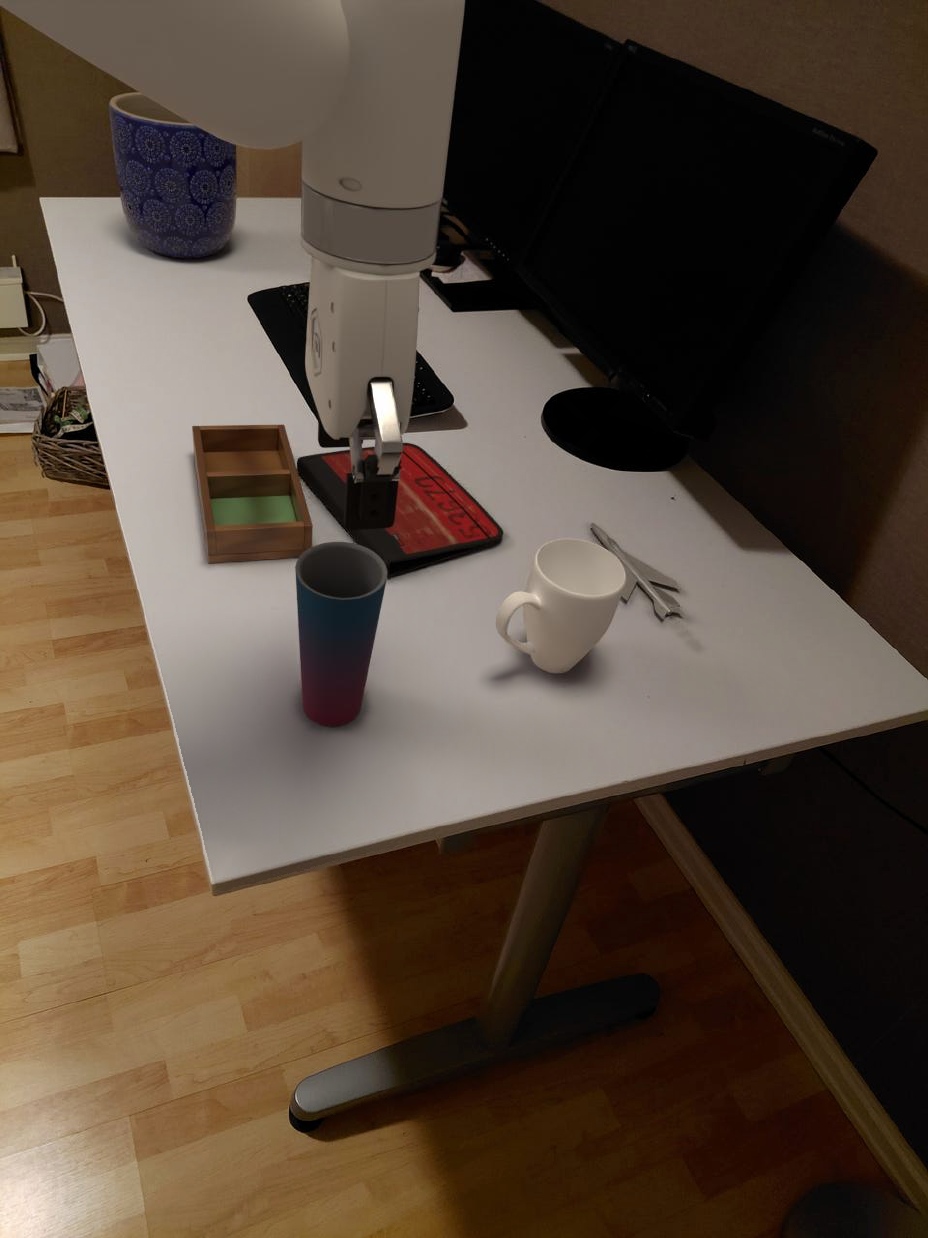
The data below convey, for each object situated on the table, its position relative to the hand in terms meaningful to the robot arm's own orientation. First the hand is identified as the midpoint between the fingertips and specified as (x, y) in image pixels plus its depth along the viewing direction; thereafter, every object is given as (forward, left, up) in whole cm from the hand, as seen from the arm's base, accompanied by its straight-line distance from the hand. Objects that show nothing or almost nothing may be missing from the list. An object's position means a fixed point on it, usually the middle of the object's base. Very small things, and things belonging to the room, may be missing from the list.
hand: (353, 483), depth 58 cm
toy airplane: (+36, +12, -23) cm, 44 cm away
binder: (+13, +28, -23) cm, 38 cm away
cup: (0, 0, -23) cm, 23 cm away
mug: (+20, +2, -23) cm, 30 cm away
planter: (-6, +105, -23) cm, 108 cm away
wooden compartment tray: (-4, +30, -23) cm, 38 cm away
